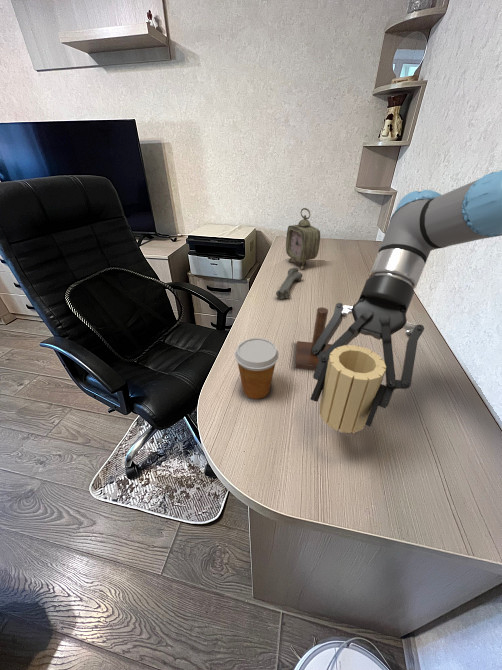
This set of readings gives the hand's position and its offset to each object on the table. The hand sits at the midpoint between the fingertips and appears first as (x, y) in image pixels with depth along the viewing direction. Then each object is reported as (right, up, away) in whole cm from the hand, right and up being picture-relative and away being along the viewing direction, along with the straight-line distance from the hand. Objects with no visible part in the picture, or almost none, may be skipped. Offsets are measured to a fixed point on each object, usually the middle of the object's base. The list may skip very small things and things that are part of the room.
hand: (339, 412), depth 44 cm
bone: (+1, +31, +66) cm, 73 cm away
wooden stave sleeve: (+2, -1, +4) cm, 5 cm away
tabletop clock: (+9, +46, +88) cm, 99 cm away
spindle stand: (+3, +6, +31) cm, 32 cm away
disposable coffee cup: (-13, -1, +22) cm, 25 cm away
